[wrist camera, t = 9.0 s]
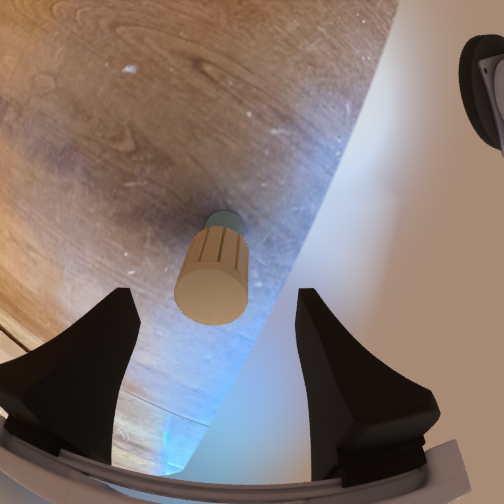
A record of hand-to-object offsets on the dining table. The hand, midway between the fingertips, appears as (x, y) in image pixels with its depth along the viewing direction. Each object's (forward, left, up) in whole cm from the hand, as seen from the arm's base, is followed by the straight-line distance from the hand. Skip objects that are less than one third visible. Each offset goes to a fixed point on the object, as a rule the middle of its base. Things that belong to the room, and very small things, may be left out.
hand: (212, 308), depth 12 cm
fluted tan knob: (-1, +1, -6) cm, 6 cm away
